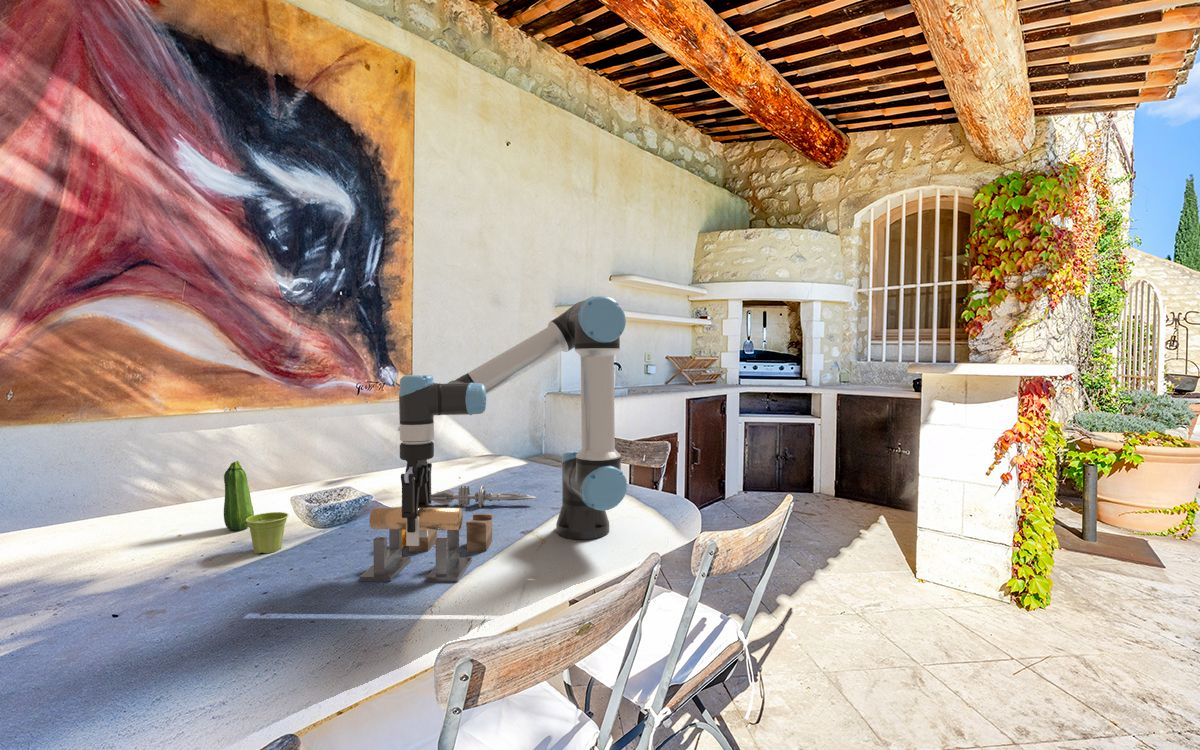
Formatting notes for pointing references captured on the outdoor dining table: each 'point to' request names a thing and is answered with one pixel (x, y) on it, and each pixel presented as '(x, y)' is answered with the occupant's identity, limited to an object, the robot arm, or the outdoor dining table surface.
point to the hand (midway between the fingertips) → (417, 540)
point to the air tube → (427, 518)
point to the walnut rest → (476, 535)
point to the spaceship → (465, 496)
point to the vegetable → (236, 498)
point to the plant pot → (267, 531)
